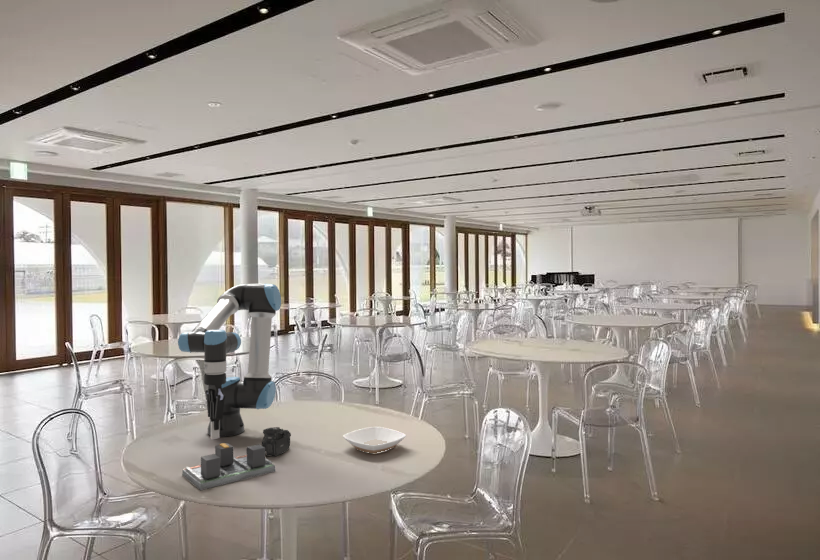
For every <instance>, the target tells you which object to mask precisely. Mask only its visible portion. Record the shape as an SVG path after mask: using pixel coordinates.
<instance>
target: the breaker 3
mask: <svg viewBox="0 0 820 560" xmlns="http://www.w3.org/2000/svg"><path fill="white" fill-rule="evenodd" d="M246 455H247V464H248V465H249V466H251V467H253V468H254V467H258V466H263V465H265V458H266V451H265V447H263V446H262V444H259V443H258V444H255V445H249V446H248V445H247V446H246Z"/></svg>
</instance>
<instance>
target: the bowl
mask: <svg viewBox="0 0 820 560" xmlns="http://www.w3.org/2000/svg"><path fill="white" fill-rule="evenodd" d="M406 437H407V434H405V433H404V432H401V431H398V430H396V429H392V428H388V427H383V426H367V427H363V428H360V429H355V430H352V431H349V432H347V433H344V434H343V435H342V438H344V440H345V441H347V442H348V443H349V444H350V445H351V446H353V448H355V450H357V449H358V450H357V451H359V450H361V451H364V452H369V453H377V452H381V451H385V450H388V449H390V448H393V447H394V446H395V447H396V446H398V444H400V442H402V441H403V440H404V439H405V438H406ZM374 439H377V440H382V441H387V443H383V444H378V445H369V444H364V442H367V441H370V440H374ZM395 447H394V448H395ZM394 448H393V449H394ZM361 451H360V452H361ZM364 452H363V453H364Z"/></svg>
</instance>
